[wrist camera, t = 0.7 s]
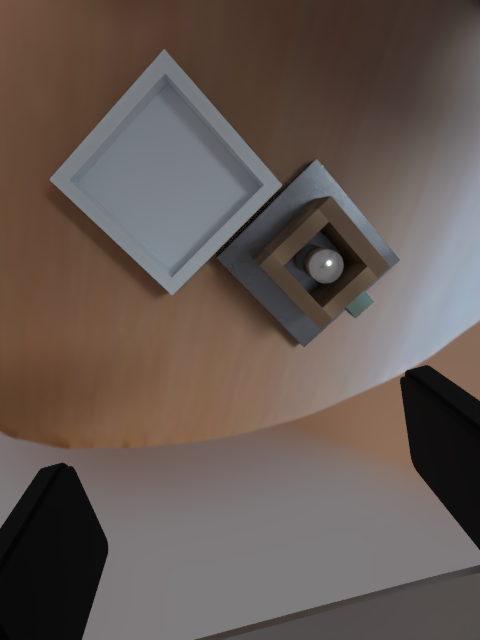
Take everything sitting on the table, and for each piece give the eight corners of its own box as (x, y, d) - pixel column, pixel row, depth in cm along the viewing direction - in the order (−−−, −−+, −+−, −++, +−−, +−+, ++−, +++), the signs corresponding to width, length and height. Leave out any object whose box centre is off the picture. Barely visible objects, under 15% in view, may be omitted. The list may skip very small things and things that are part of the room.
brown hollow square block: (314, 198, 30) (331, 195, 26) (374, 269, 32) (399, 278, 28) (252, 258, 31) (259, 265, 26) (315, 324, 33) (330, 340, 28)
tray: (168, 63, 28) (164, 48, 25) (276, 187, 30) (282, 185, 28) (62, 182, 29) (48, 179, 27) (175, 289, 32) (172, 295, 30)
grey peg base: (312, 160, 30) (336, 147, 24) (393, 258, 33) (431, 267, 27) (216, 256, 32) (217, 265, 26) (301, 342, 34) (318, 368, 29)
